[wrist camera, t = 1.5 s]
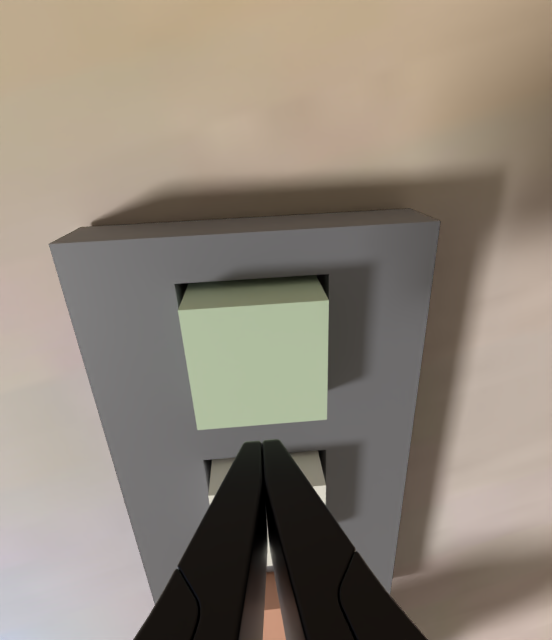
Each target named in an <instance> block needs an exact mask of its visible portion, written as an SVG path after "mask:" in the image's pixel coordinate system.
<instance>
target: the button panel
mask: <svg viewBox="0 0 552 640" xmlns="http://www.w3.org/2000/svg"><path fill="white" fill-rule="evenodd" d="M439 229H440V221H439V220H436V219H434V218H432V217H429V216H427V215H425V214H422V213H420V212H417V211H415V210H413V209H410V208H409V209H391V210H373V211H356V212H338V213H320V214H303V215H285V216H267V217H250V218H232V219H214V220H197V221H179V222H161V223H144V224H126V225H108V226H91V227H80V228H78V229H76V230H74V231H72V232H71V233H69V234H67V235H65V236H63V237H61V238H59V239H57V240H55V241H54V242H52V243H50V244H49V247H50V250H51V254H52V257H53V260H54V264H55V267H56V271H57V274H58V277H59V281H60V284H61V287H62V291H63V294H64V298H65V301H66V304H67V308H68V311H69V315H70V318H71V321H72V325H73V328H74V332H75V335H76V338H77V342H78V345H79V349H80V352H81V355H82V359H83V362H84V366H85V369H86V372H87V376H88V379H89V382H90V386H91V389H92V393H93V396H94V399H95V403H96V406H97V410H98V413H99V416H100V420H101V423H102V427H103V430H104V433H105V437H106V440H107V444H108V447H109V450H110V454H111V457H112V461H113V464H114V467H115V471H116V474H117V478H118V481H119V484H120V488H121V491H122V494H123V498H124V501H125V505H126V508H127V511H128V515H129V518H130V522H131V525H132V528H133V532H134V535H135V539H136V542H137V545H138V549H139V552H140V556H141V559H142V562H143V566H144V569H145V573H146V576H147V579H148V583H149V586H150V590H151V593H152V596H153V600H154V603H155V604H156V602H157V601H158V599H159V597H160V596H161V594H162V592H163V590H164V589H165V587H166V585H167V583H168V581H169V579H170V578H171V576H172V574H173V572H174V570H175V569H177V565H178V563H179V561H180V559H181V558H182V556H183V554H184V552H185V550H186V548H187V546H188V545H189V543H190V541H191V539H192V537H193V535H194V533H195V532H196V530H197V528H198V526H199V524H200V522H201V520H202V519H203V517H204V515H205V513H206V511H207V509H208V508H209V506H210V504H209V498H208V493H209V484H210V474H211V465H212V459H223V458H235V457H236V456H237V454H238V452H239V450H240V448H241V446H242V445H243V443H244V442H247V441H261V443H262V442H263V441H264V440H271V439H279V440H280V441H281V442H282V443H283V445H284V446H285V448H286V449H287V451H288V452H289V453H294V452H305V451H317V450H318V453H319V458H320V462H321V466H322V471H323V475H324V479H325V484H326V507H327V508H328V509H329V511H330V512H331V514H332V515H333V517H334V518H335V519H336V521H337V522H338V524H339V525H340V527H341V528H342V530H343V531H344V532H345V534H346V535H347V537H348V538H349V540H350V541H351V542H352V544H353V545H354V547H355V548H356V551H357V552H359V554H360V555H361V556H362V558H363V559H364V561H365V562H366V564H367V565H368V567H369V568H370V569H371V571H372V572H373V573H374V575H375V576H376V577H377V579H378V580H379V581H380V583H381V584H382V585H383V587H384V588H385V589H386V591H387V592H388V593H389V594H390V592H391V584H392V577H393V569H394V562H395V555H396V547H397V540H398V532H399V525H400V518H401V510H402V503H403V495H404V488H405V481H406V473H407V466H408V458H409V451H410V444H411V436H412V429H413V421H414V414H415V407H416V399H417V392H418V384H419V377H420V370H421V362H422V355H423V347H424V340H425V333H426V325H427V318H428V310H429V303H430V295H431V288H432V281H433V273H434V266H435V258H436V251H437V244H438V236H439ZM305 275H317V278H318V280H319V282H320V284H321V286H322V288H323V290H324V292H325V294H326V296H327V298H328V300H329V325H328V388H327V420H316V421H304V422H292V423H280V424H267V425H255V426H243V427H230V428H218V429H206V430H197V424H196V418H195V412H194V406H193V400H192V394H191V388H190V382H189V376H188V369H187V363H186V357H185V351H184V345H183V339H182V333H181V327H180V321H179V315H178V309H179V306H180V304H181V301H182V299H183V296H184V294H185V291H186V289H187V286H188V284H189V283H196V282H212V281H227V280H243V279H258V278H274V277H290V276H305ZM266 572H274V570H273V566H267V571H266Z"/></svg>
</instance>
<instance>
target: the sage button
mask: <svg viewBox="0 0 552 640" xmlns="http://www.w3.org/2000/svg"><path fill="white" fill-rule="evenodd" d="M178 315H179V321H180V327H181V333H182V339H183V345H184V351H185V357H186V363H187V369H188V376H189V382H190V388H191V394H192V400H193V406H194V412H195V418H196V424H197V430H206V429H218V428H230V427H243V426H255V425H267V424H280V423H292V422H304V421H316V420H327V388H328V325H329V300H328V298H327V296H326V294H325V292H324V290H323V288H322V286H321V284H320V282H319V280H318V278H317V276H316V275H305V276H290V277H274V278H258V279H243V280H227V281H212V282H196V283H189V284H188V286H187V289H186V291H185V294H184V296H183V299H182V301H181V304H180V306H179V309H178Z"/></svg>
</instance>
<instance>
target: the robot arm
mask: <svg viewBox="0 0 552 640" xmlns="http://www.w3.org/2000/svg"><path fill="white" fill-rule="evenodd" d="M267 527H268V531H267ZM268 539H269V546H270V553H271V559H272V564H273V570H274V575H275V581H276V587H277V592H278V598H279V603H280V609H281V614H282V620H283V626H284V631H285V637H286V640H428V639H427V638H426V637H425V636H424V634H423V633H422V632H421V631H420V630H419V629H418V628H417V626H416V625H415V624H414V623H413V622H412V621H411V620H410V618H409V617H408V616H407V615H406V614H405V612H404V611H403V610H402V609H401V608H400V606H399V605H398V604H397V603H396V602H395V600H394V599H393V598H392V597H391V596H390V594H389V593H388V592H387V591H386V589H385V588H384V587H383V585H382V584H381V583H380V581H379V580H378V579H377V577H376V576H375V575H374V573H373V572H372V571H371V569H370V568H369V567H368V565H367V564H366V562H365V561H364V559H363V558H362V556H361V555H360V554H359V552H357V551H356V548H355V547H354V545H353V544H352V542H351V541H350V540H349V538H348V537H347V535H346V534H345V532H344V531H343V530H342V528H341V527H340V525H339V524H338V522H337V521H336V519H335V518H334V517H333V515H332V514H331V512H330V511H329V509H328V508H327V507H326V505H325V504H324V502H323V501H322V499H321V498H320V497H319V495H318V494H317V492H316V491H315V489H314V488H313V486H312V485H311V484H310V482H309V481H308V479H307V478H306V476H305V475H304V474H303V472H302V471H301V469H300V468H299V466H298V465H297V464H296V462H295V461H294V459H293V458H292V456H291V455H290V454H289V452H288V451H287V449H286V448H285V446H284V445H283V443H282V442H281V441H280V440H279V439H271V440H264V441H263V442H262V443H261V441H247V442H244V443H243V445H242V446H241V448H240V450H239V452H238V454H237V456H236V458H235V459H234V461H233V463H232V465H231V467H230V469H229V471H228V472H227V474H226V476H225V478H224V480H223V482H222V483H221V485H220V487H219V489H218V491H217V493H216V495H215V496H214V498H213V500H212V502H211V504H210V506H209V508H208V509H207V511H206V513H205V515H204V517H203V519H202V520H201V522H200V524H199V526H198V528H197V530H196V532H195V533H194V535H193V537H192V539H191V541H190V543H189V545H188V546H187V548H186V550H185V552H184V554H183V556H182V558H181V559H180V561H179V563H178V565H177V569H175V570H174V572H173V574H172V576H171V578H170V579H169V581H168V583H167V585H166V587H165V589H164V590H163V592H162V594H161V596H160V597H159V599H158V601H157V602H156V604H155V606H154V608H153V609H152V611H151V613H150V615H149V616H148V618H147V619H146V621H145V622H144V624H143V626H142V627H141V629H140V630H139V632H138V633H137V635H136V636H135V638H134V639H133V640H263V625H264V607H265V589H266V571H267V553H268Z"/></svg>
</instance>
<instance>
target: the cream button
mask: <svg viewBox="0 0 552 640" xmlns="http://www.w3.org/2000/svg"><path fill="white" fill-rule="evenodd" d="M289 454H290V455H291V456H292V458H293V459H294V461H295V462H296V464H297V465H298V466H299V468H300V469H301V471H302V472H303V474H304V475H305V476H306V478H307V479H308V481H309V482H310V484H311V485H312V486H313V488H314V489H315V491H316V492H317V494H318V495H319V497H320V498H321V499H322V501H323V502H324V504H325V505H326V484H325V479H324V475H323V471H322V466H321V462H320V458H319V453H318V450H317V451H305V452H294V453H289ZM235 458H236V457H235ZM235 458H223V459H212V465H211V474H210V484H209V493H208V498H209V504H211V502H212V500H213V498H214V496H215V495H216V493H217V491H218V489H219V487H220V485H221V483H222V482H223V480H224V478H225V476H226V474H227V472H228V471H229V469H230V467H231V465H232V463H233V461H234V459H235ZM267 531H268V527H267ZM267 566H273V564H272V559H271V553H270V546H269V539H268V553H267Z"/></svg>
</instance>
